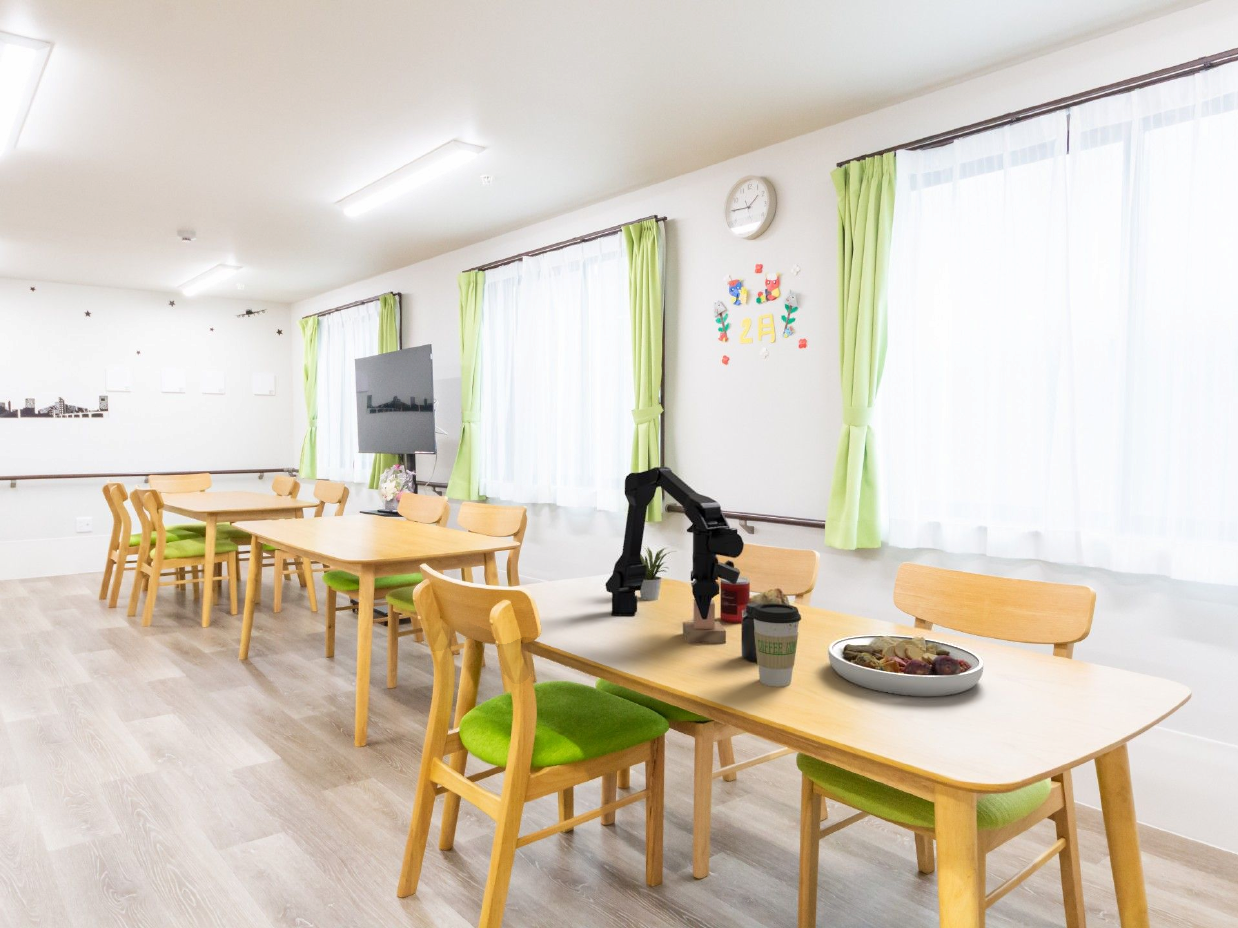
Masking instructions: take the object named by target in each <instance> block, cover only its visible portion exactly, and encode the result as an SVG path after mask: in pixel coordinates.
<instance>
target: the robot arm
mask: <svg viewBox="0 0 1238 928" xmlns="http://www.w3.org/2000/svg"><path fill="white" fill-rule="evenodd" d="M659 487H660V488H661V489H662V490H663V491H665V492H666V493H667V494H668V495H669V496H671V498H672V499H674V501H676V502H677V503H678V504H679V505H680V506H681V507H682V508H683V513H684V515H685V516H686V517H687V519H688V520H689V521H690V522H691V525H690V526H689V527H688V528H687V529H686V532H687V533H690V534H691V533H692V570H691V571H690V583H691V589H692V590H691V593H692V595H693V599H695V601H696V604H697V606H698V609H699V612H700V614H701V617H702V619H707V616H708V612H709V607H710V603H711V600H713V598H715V597H716V596H717V595H720V584H719V582H718V580H719V579H720V580H721V579H724V580H727V581H729V582H730V583H732V584H736V582H737V580H738V577H740V574H741V571H740V569H738V568H737V567H735V563H734V562H733V561H731V560H728V559H727V560H726V561H725V562H720V561H719V558H718V556H721V557H728V558H733V559H736V558H738V557H740V556H741V555H742V553H743V550H744V545H745V544H744V541H743V538H742V536H741V535H740V534H738V528H737V527H730V524H729V523H728V520H727V518H726V517H725V515H724V512H723V510H722V508H721V505H720V503H719V502H718V501H716V500H715V499H713V498H711V497H709V496H706V495H703V494H700V493H698V492H697V491H695V490H694V489H693V488H691V486H689V485H688V484H687V483H686V482H684V481H683V480H682V479H681V478H680V477H679V476H677V475H676V474H675V473H674V472H673V471H672V469H671V468H670V467H668V466H657V467H656V466H655V467H653V468H650V469H648V470H644V471H641V472H630V473H629V474H628V475H626V476H625V479H624V495H625V498H626V500H627V503H628V509H627V513H626V514H627V515H626V516H627V517H626V522H625V523H626V524H625V531H624V539H623V545H622V553H621V555H620V557H619V558H618V559H617V560H616V562H615V563H614V567H613V571H612V574H611V575H610V577H609V578H608V580H607V581H606V582H605V589H606V592H608V593H611V612H610V615H611V616H626V617H628V616H633V617H634V616H635V615H636V613H637V612H638V595H636V591H639V592H640V590H641V587H642V583H643V581H644V579H645V578H646V577H645V572H646V568H647V567H646V565H645V564H643V562H642V560H641V558H640V555H642V547H643V540H644V539H643V537H644V532H645V524H646V517H647V512H648V511H647V510H648V506H649V504H651V502H652V501H653V499H654V498H655V496H656V492H657V488H659Z"/></svg>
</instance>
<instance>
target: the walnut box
mask: <svg viewBox="0 0 1238 928" xmlns="http://www.w3.org/2000/svg"><path fill="white" fill-rule="evenodd" d="M682 635H683V636H684V639H685V640H686V643H687V644H691V645H692V644H693V645H694V644H695V645H696V644H727V642H726V641H727V631H726V628H725V627H724V626H723V625H722V624H721V622H720V621H715V629H694V626H693V621H682Z"/></svg>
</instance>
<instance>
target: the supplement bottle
mask: <svg viewBox="0 0 1238 928" xmlns="http://www.w3.org/2000/svg"><path fill="white" fill-rule="evenodd" d="M759 604H763V603H749V604H746V613H747V615H746V616H745V617H743V619H742V623H740V624H741V629H740V630H741V637H740V638H741V643H740V644H741V646H740V647H741V658H742V659H743V660H744V661H748V662H753V663H757V654H756V644H755V635H754V630H755V627H754V619H753V618H752V617H751V616H752V612H753V611H754V609H755V606H756V605H759Z"/></svg>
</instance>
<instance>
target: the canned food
mask: <svg viewBox="0 0 1238 928" xmlns="http://www.w3.org/2000/svg"><path fill="white" fill-rule="evenodd" d="M750 593H751V585H750V579H749V578H747V577H743V576H739V577H738V580H737V582H736V584H732V583H730V582H729V581H727V580H724V579H721V578H720V607H719V608H720V612H719V613H720V614H719V615H720V620H721V621H722V622H724V623H726V624H727V623H729V624H741V623H742V619H743V617H745V616H746V615H747V613H746V604H749V601H750V598H751V596H750Z"/></svg>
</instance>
